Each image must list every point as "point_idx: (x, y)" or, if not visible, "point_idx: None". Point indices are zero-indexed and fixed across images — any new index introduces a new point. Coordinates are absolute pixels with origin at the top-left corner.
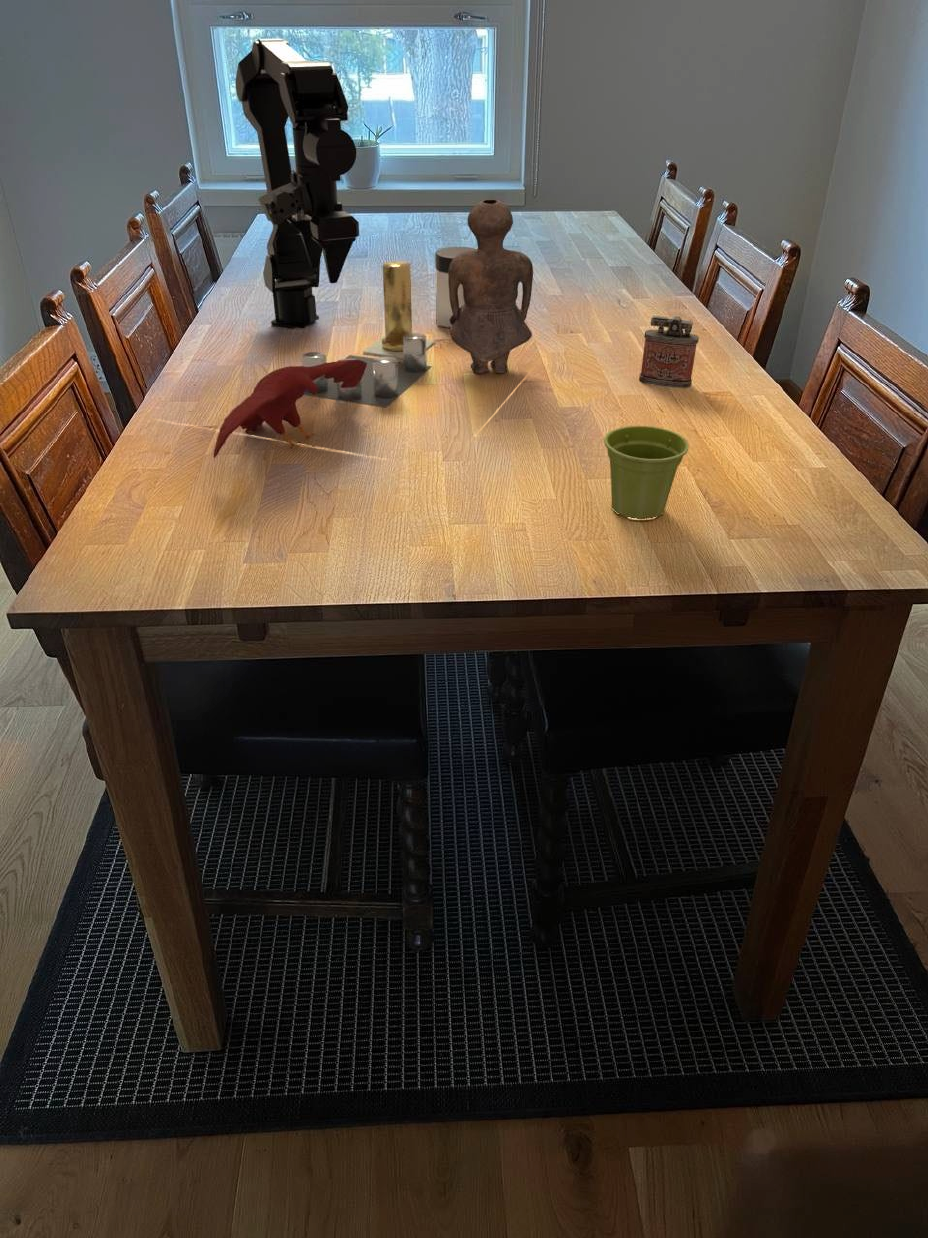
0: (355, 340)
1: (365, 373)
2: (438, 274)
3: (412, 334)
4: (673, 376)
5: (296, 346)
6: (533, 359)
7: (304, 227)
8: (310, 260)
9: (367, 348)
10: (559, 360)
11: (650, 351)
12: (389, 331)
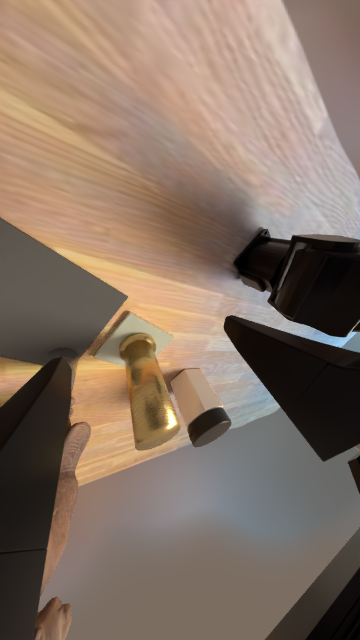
0: (178, 309)
1: (44, 305)
2: (202, 409)
3: None
4: None
5: (186, 238)
6: None
7: (357, 393)
8: (239, 324)
9: (139, 318)
10: None
11: None
12: (131, 352)
